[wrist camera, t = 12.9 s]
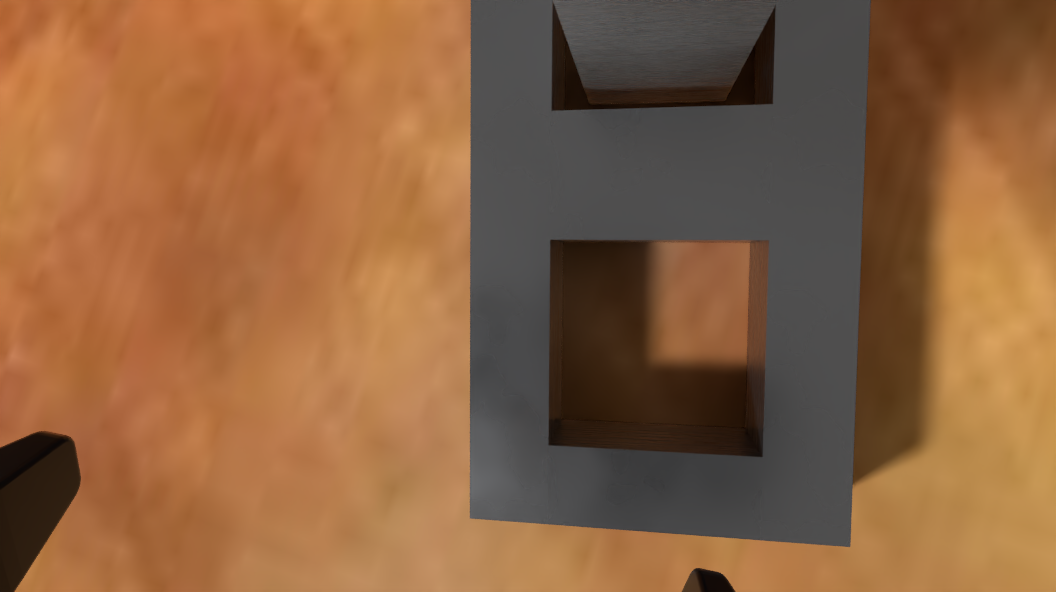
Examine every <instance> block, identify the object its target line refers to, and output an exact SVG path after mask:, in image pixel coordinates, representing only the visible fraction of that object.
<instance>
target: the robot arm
mask: <svg viewBox="0 0 1056 592" xmlns="http://www.w3.org/2000/svg"><path fill="white" fill-rule="evenodd" d="M80 481H81V475H80V469H79V464H78V458H77V453H76V447H75V443H74V441H73V439H72V438H71V437H69V436H67V435H62V434H57V433H52V432H47V431H40V432H36V433H33V434H31V435H28V436H26V437H24V438H21V439H19V440H17V441H14V442H12V443H10V444H7V445H5V446H3V447H0V592H14V591H15V590H16V588H17V587H18V585H19V584H20V582H21V581H22V579H23V578H24V576H25V575H26V573H27V572H28V570H29V568H30V567H31V565H32V564H33V562H34V560H35V559H36V557H37V556H38V554H39V553H40V551H41V549H42V548H43V546H44V545H45V543H46V542H47V540H48V538H49V537H50V535H51V534H52V532H53V531H54V529H55V527H56V526H57V524H58V523H59V521H60V520H61V518H62V516H63V515H64V513H65V512H66V510H67V508H68V507H69V505H70V504H71V502H72V501H73V499H74V497H75V496H76V494H77V492H78V489H79V486H80ZM682 592H735V590H734V589H733V587H732V586H731V584H730V583H729V581H728V580H727V578H726V577H725V576H724V575H723V574H721V573H719V572H715V571H710V570H705V569H701V568H696V569H694V570H693V571H692V572H691V574H690V576H689V578H688V580H687V582H686V584H685V586H684V588H683V590H682Z"/></svg>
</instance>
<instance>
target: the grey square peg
mask: <svg viewBox="0 0 1056 592" xmlns="http://www.w3.org/2000/svg"><path fill="white" fill-rule="evenodd" d="M777 2H778V0H553V3H554V5H555V8H556V11H557V14H558V17H559V20H560V22H561V25H562V28H563V31H564V34H565V37H566V39H567V42H568V45H569V48H570V51H571V54H572V56H573V59H574V62H575V65H576V68H577V71H578V73H579V76H580V79H581V82H582V85H583V87H584V90H585V93H586V96H587V99H588V102H589V104H590V105H600V104H640V103H679V102H718V101H725V100H726V98H727V96H728V94H729V92H730V90H731V88H732V86H733V85H734V83H735V81H736V79H737V77H738V75H739V73H740V71H741V69H742V68H743V66H744V64H745V62H746V60H747V58H748V56H749V54H750V52H751V51H752V49H753V47H754V45H755V43H756V41H757V39H758V37H759V35H760V34H761V32H762V30H763V28H764V26H765V24H766V22H767V20H768V19H769V17H770V15H771V13H772V11H773V9H774V7H775V5H776V3H777Z"/></svg>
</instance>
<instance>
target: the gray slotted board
mask: <svg viewBox="0 0 1056 592" xmlns="http://www.w3.org/2000/svg"><path fill="white" fill-rule="evenodd" d="M870 4H871V0H778V2H777V3H776V5H775V7H774V9H773V11H772V13H771V15H770V17H769V19H768V20H767V22H766V24H765V26H764V28H763V30H762V32H761V34H760V35H759V37H758V39H757V41H756V52H755V89H754V105H729V106H695V107H661V108H628V109H594V110H565V34H564V31H563V28H562V25H561V22H560V20H559V17H558V14H557V11H556V8H555V5H554V3H553V0H471V242H470V518H473V519H486V520H499V521H513V522H526V523H539V524H552V525H566V526H579V527H592V528H606V529H619V530H632V531H646V532H659V533H672V534H685V535H699V536H712V537H725V538H739V539H752V540H765V541H778V542H792V543H805V544H818V545H832V546H845V547H850V539H851V512H852V485H853V459H854V432H855V405H856V378H857V352H858V325H859V298H860V271H861V244H862V218H863V191H864V164H865V137H866V111H867V84H868V57H869V30H870ZM563 242H737V243H750V273H749V309H748V346H747V383H746V419H745V428H737V427H716V426H695V425H675V424H654V423H633V422H613V421H592V420H571V419H562V326H563Z"/></svg>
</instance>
